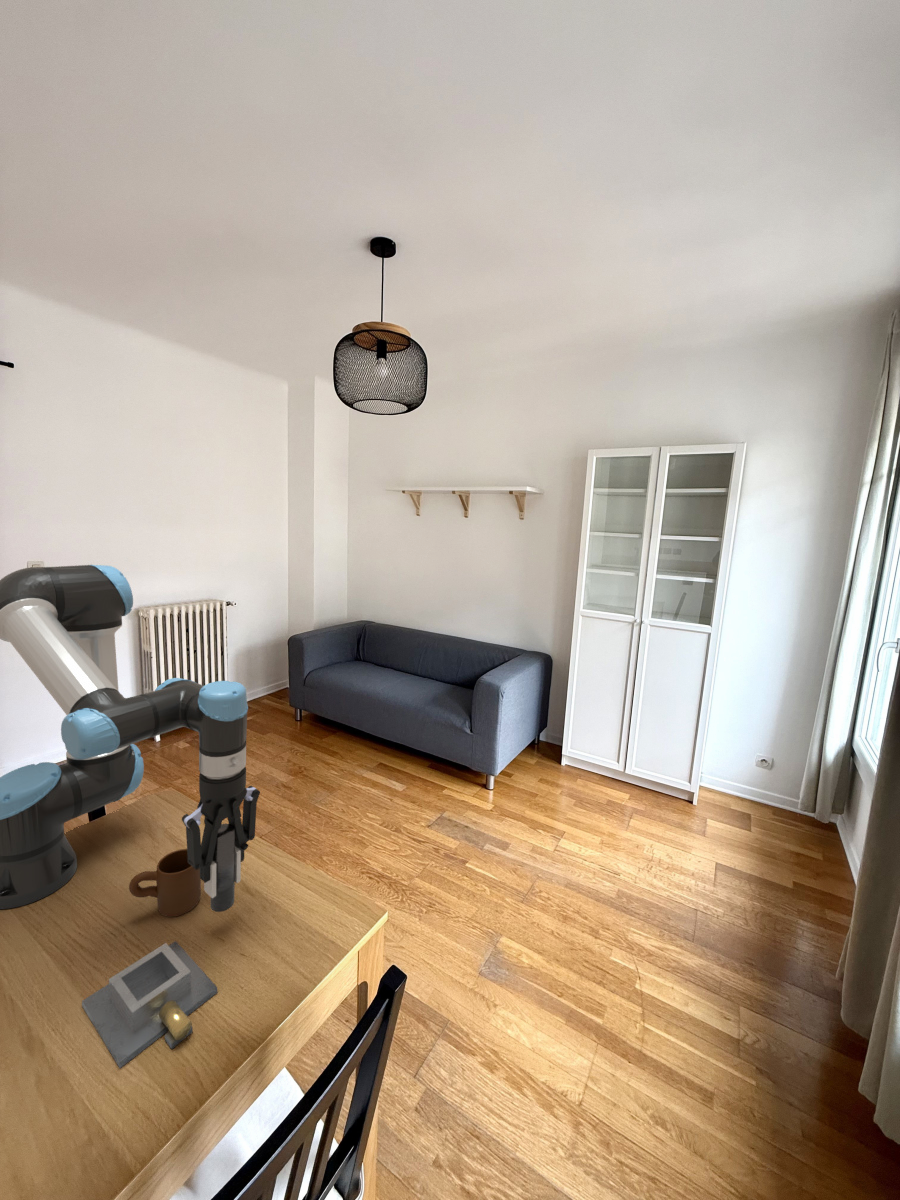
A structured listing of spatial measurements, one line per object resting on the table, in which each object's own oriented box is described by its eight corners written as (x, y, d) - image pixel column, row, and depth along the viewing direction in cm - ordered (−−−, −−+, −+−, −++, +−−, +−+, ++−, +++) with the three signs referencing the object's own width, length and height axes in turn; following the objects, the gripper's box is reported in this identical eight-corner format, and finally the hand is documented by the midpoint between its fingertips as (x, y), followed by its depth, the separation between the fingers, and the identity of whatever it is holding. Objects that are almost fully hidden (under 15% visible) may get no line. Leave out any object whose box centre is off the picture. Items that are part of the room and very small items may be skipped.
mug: (131, 935, 87) (128, 889, 86) (130, 906, 93) (128, 863, 92) (203, 908, 94) (202, 865, 93) (198, 883, 100) (197, 843, 99)
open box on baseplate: (82, 1006, 74) (80, 981, 74) (175, 945, 86) (175, 923, 85) (130, 1086, 64) (129, 1058, 64) (229, 1005, 76) (228, 981, 75)
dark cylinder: (206, 904, 88) (206, 831, 86) (227, 891, 91) (227, 820, 89) (217, 915, 86) (218, 841, 83) (238, 902, 89) (239, 830, 87)
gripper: (184, 798, 75) (185, 926, 79) (278, 759, 89) (275, 870, 93) (161, 780, 79) (164, 903, 83) (254, 745, 93) (252, 852, 97)
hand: (222, 885), depth 88 cm, fingers closed on dark cylinder, 4 cm apart
